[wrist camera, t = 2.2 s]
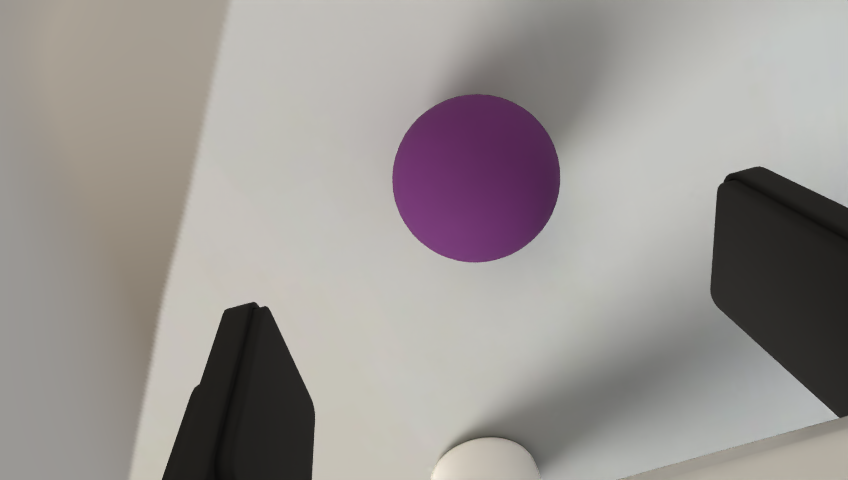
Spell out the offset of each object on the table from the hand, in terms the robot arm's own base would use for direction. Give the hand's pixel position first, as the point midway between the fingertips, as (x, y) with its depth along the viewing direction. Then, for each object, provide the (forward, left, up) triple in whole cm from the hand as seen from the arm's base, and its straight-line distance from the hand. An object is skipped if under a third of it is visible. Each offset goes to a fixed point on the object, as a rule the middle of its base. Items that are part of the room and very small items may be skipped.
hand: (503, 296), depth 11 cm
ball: (-1, 0, -6) cm, 6 cm away
